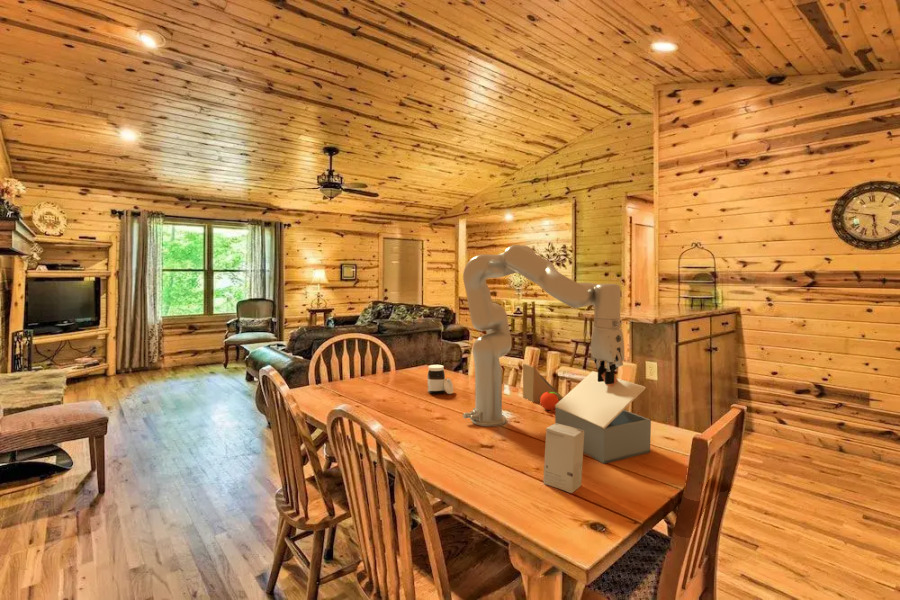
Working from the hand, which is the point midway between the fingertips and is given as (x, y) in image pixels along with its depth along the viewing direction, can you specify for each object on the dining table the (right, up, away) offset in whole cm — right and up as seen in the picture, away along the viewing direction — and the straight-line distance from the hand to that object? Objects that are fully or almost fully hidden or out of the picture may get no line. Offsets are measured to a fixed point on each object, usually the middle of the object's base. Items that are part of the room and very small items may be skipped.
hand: (605, 381), depth 141 cm
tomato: (-9, -17, +35) cm, 41 cm away
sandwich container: (-9, -16, +51) cm, 54 cm away
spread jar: (-53, -16, +61) cm, 82 cm away
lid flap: (-3, -5, -1) cm, 6 cm away
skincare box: (-19, -22, -25) cm, 38 cm away
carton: (-1, -20, +1) cm, 20 cm away
